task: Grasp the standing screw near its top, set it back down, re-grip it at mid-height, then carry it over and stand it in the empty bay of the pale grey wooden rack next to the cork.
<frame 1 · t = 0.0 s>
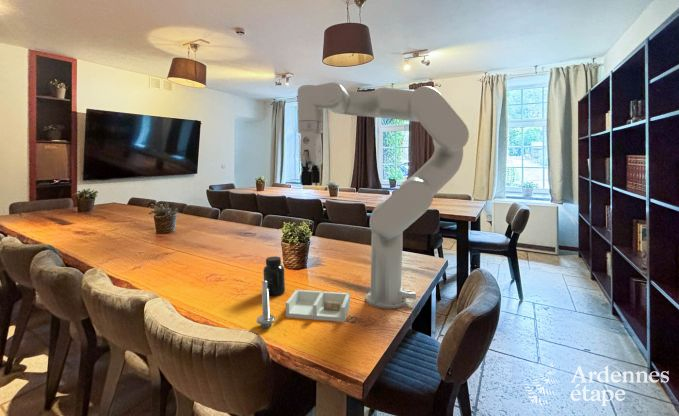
hand: (311, 184, 105), 37 cm above the table, tool pointing down, fingers open, 9 cm apart
screw: (266, 326, 90), on the table
rack: (319, 311, 98), on the table
cork: (332, 309, 97), point 1 cm above the table, touching rack
supplement bottle: (274, 293, 112), on the table
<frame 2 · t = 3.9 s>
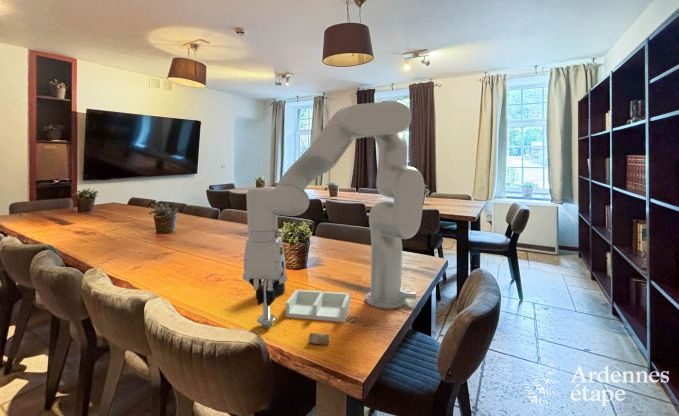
hand: (265, 302, 89), 7 cm above the table, tool pointing down, fingers closed on screw, 2 cm apart
screw: (266, 326, 90), on the table, touching gripper
cork: (320, 335, 83), point 1 cm above the table, tilted 104°
everything else where it was.
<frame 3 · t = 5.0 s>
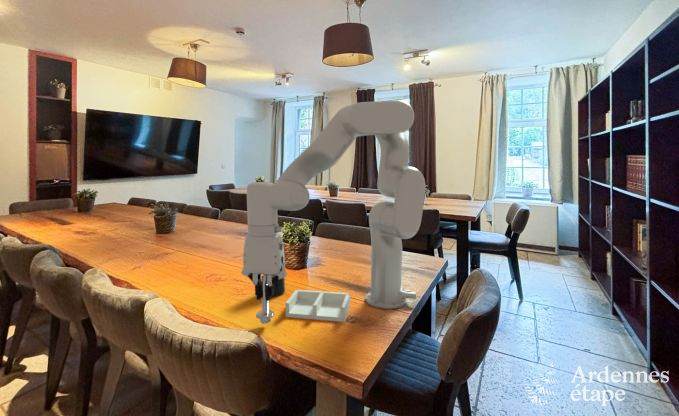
hand: (264, 297, 89), 8 cm above the table, tool pointing down, fingers closed on screw, 2 cm apart
screw: (265, 322, 89), point 1 cm above the table, touching gripper
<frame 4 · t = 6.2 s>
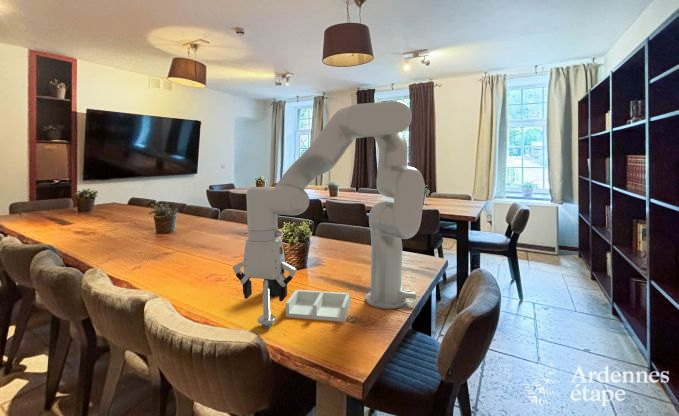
hand: (265, 297, 89), 8 cm above the table, tool pointing down, fingers open, 9 cm apart
screw: (266, 326, 90), on the table
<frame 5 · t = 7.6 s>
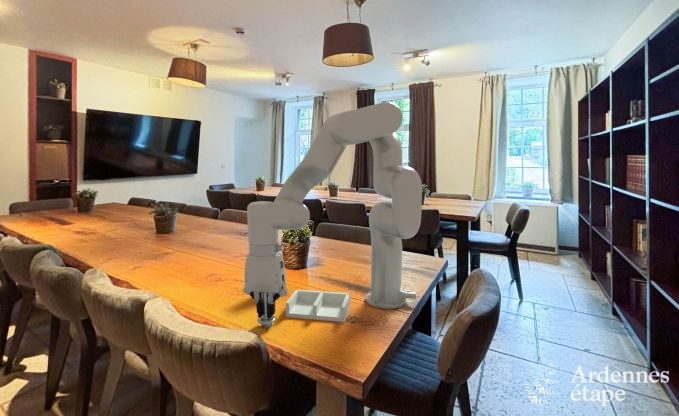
hand: (266, 315, 89), 3 cm above the table, tool pointing down, fingers closed on screw, 2 cm apart
screw: (266, 326, 90), on the table, touching gripper
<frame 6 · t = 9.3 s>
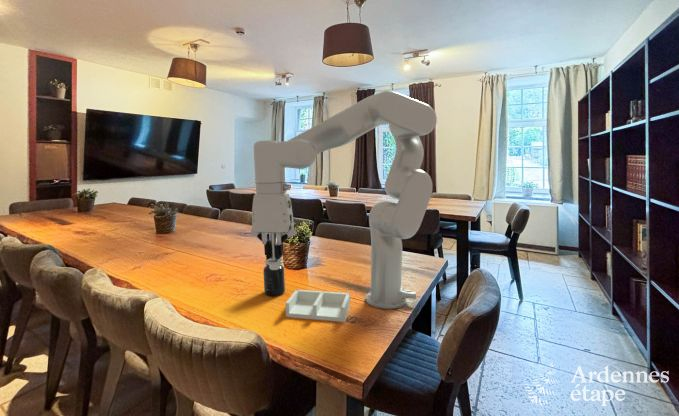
hand: (274, 257, 89), 19 cm above the table, tool pointing down, fingers closed on screw
screw: (274, 269, 90), point 15 cm above the table, touching gripper
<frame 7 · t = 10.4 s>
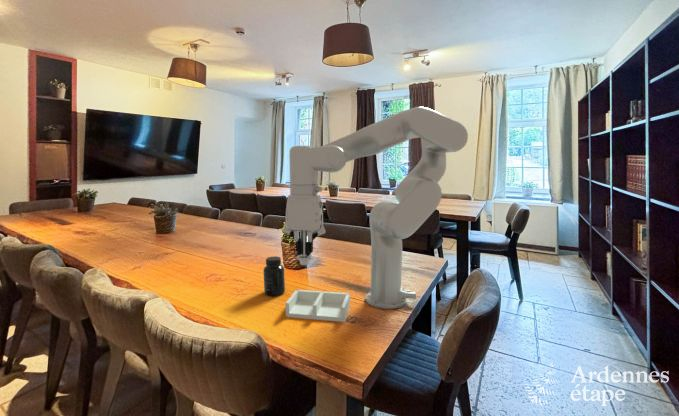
hand: (304, 253, 96), 17 cm above the table, tool pointing down, fingers closed on screw
screw: (304, 264, 97), point 14 cm above the table, touching gripper
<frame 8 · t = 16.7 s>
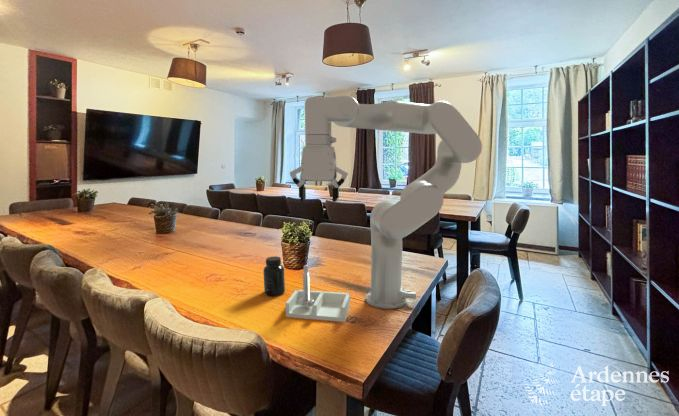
hand: (318, 200, 99), 32 cm above the table, tool pointing down, fingers open, 9 cm apart
screw: (306, 307, 99), point 1 cm above the table, touching rack
at the end: screw inside the target area on the rack (0.3 cm from its centre), point 1.0 cm above the rack's base; screw tilted 0°; the gripper is holding nothing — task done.
